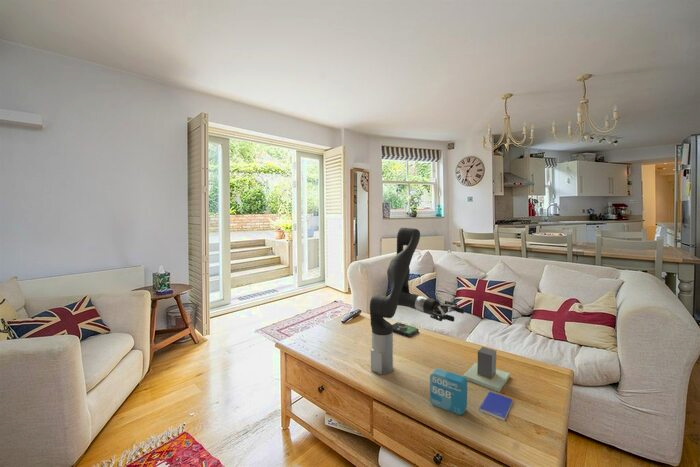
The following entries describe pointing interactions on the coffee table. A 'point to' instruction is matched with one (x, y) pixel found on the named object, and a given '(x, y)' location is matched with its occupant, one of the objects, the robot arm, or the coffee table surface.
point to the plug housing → (486, 362)
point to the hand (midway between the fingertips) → (459, 315)
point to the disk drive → (404, 329)
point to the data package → (448, 391)
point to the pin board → (493, 383)
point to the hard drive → (496, 405)
